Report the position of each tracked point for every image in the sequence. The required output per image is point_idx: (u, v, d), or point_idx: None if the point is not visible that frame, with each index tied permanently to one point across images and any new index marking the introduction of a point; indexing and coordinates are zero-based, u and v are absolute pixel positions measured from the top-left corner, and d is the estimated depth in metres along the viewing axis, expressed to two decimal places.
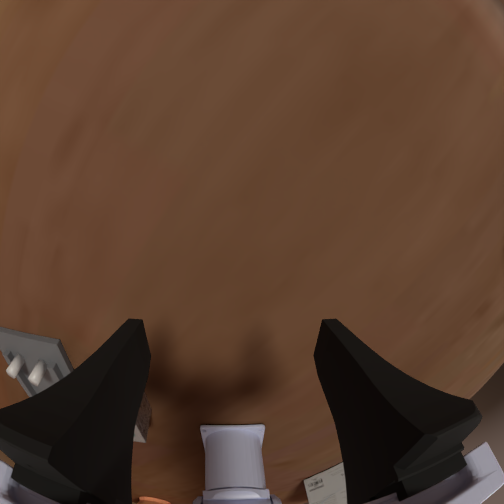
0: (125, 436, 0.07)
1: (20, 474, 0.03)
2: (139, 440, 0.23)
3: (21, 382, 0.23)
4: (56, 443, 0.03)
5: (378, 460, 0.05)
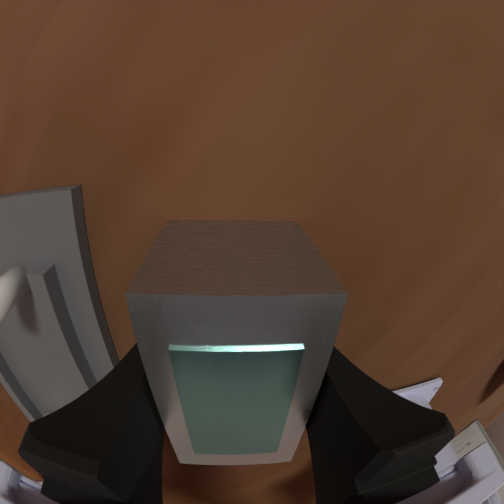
0: (156, 441, 0.07)
1: (20, 474, 0.03)
2: (277, 460, 0.09)
3: None
4: (104, 457, 0.03)
5: (341, 470, 0.05)
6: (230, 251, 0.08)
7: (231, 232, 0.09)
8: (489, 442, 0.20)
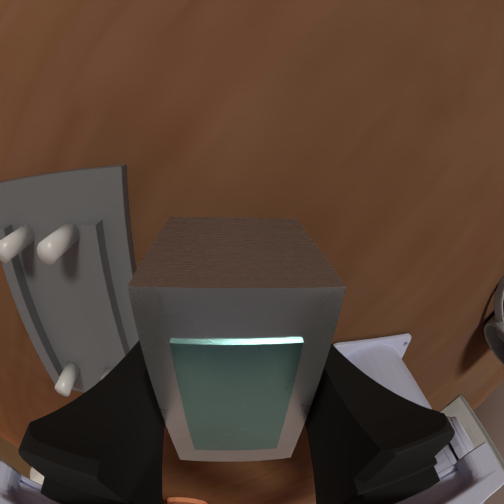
0: (156, 441, 0.07)
1: (20, 474, 0.03)
2: (277, 456, 0.09)
3: (17, 292, 0.15)
4: (104, 457, 0.03)
5: (341, 470, 0.05)
6: (230, 246, 0.08)
7: (231, 228, 0.09)
8: (474, 416, 0.26)
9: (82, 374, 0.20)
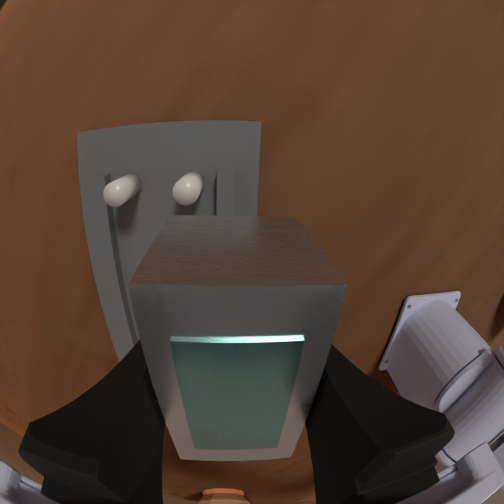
0: (156, 441, 0.07)
1: (20, 474, 0.03)
2: (277, 455, 0.09)
3: (106, 250, 0.17)
4: (104, 457, 0.03)
5: (341, 470, 0.05)
6: (231, 244, 0.08)
7: (232, 227, 0.09)
8: None
9: None
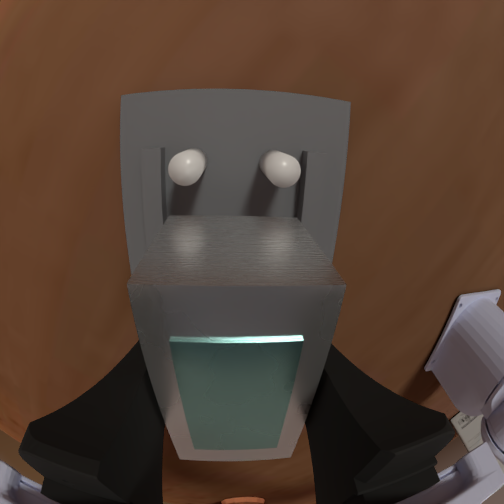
0: (157, 441, 0.07)
1: (20, 474, 0.03)
2: (277, 455, 0.09)
3: None
4: (104, 457, 0.03)
5: (340, 470, 0.05)
6: (230, 244, 0.08)
7: (231, 227, 0.09)
8: None
9: None
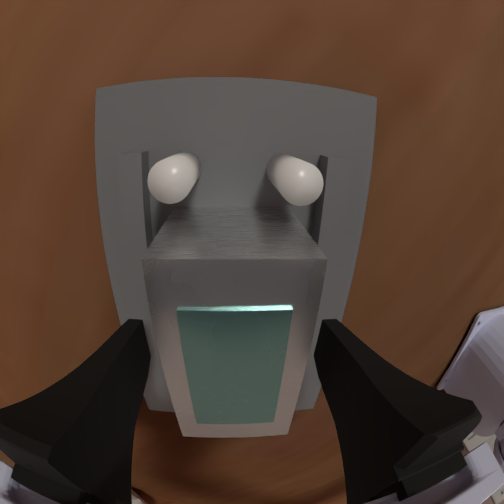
0: (124, 436, 0.07)
1: (20, 474, 0.03)
2: (274, 431, 0.11)
3: (139, 271, 0.11)
4: (56, 443, 0.03)
5: (378, 460, 0.05)
6: (229, 229, 0.09)
7: (230, 215, 0.10)
8: None
9: None
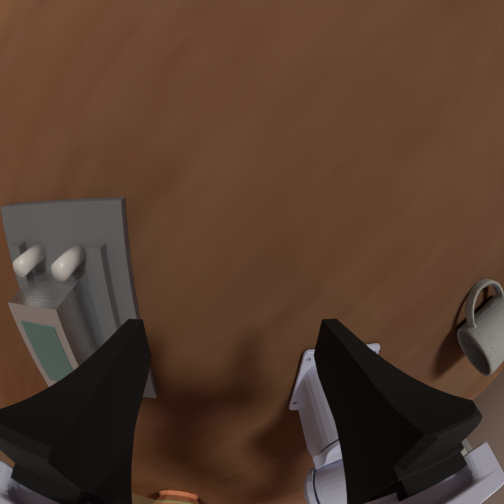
0: (124, 436, 0.07)
1: (20, 474, 0.03)
2: None
3: None
4: (56, 443, 0.03)
5: (378, 460, 0.05)
6: (43, 288, 0.15)
7: (53, 278, 0.17)
8: None
9: None
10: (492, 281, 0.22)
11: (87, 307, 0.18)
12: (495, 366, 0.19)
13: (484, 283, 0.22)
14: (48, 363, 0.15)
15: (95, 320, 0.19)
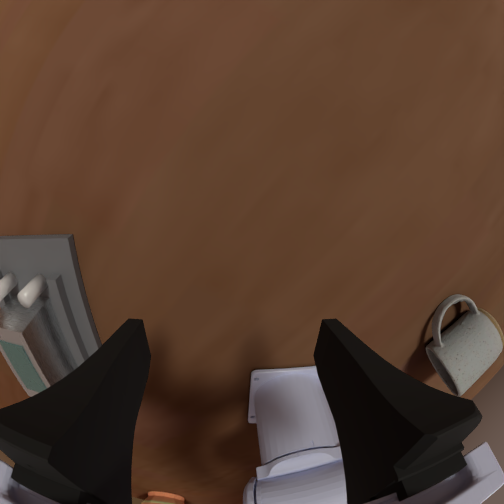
0: (124, 436, 0.07)
1: (20, 474, 0.03)
2: None
3: None
4: (56, 443, 0.03)
5: (378, 460, 0.05)
6: (14, 312, 0.16)
7: None
8: None
9: None
10: (463, 297, 0.22)
11: (53, 328, 0.19)
12: (463, 388, 0.19)
13: (453, 300, 0.22)
14: (23, 375, 0.16)
15: (62, 339, 0.20)
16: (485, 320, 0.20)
